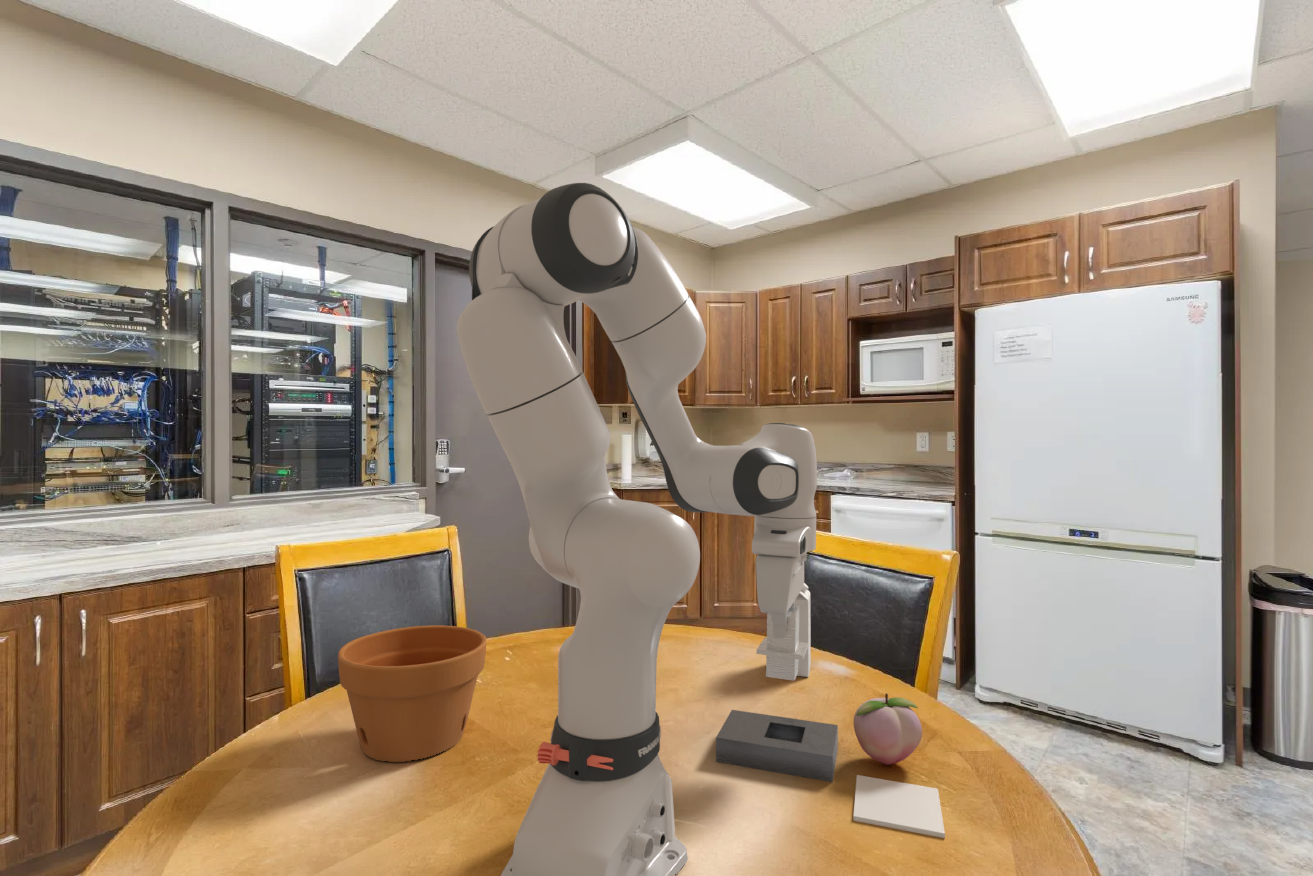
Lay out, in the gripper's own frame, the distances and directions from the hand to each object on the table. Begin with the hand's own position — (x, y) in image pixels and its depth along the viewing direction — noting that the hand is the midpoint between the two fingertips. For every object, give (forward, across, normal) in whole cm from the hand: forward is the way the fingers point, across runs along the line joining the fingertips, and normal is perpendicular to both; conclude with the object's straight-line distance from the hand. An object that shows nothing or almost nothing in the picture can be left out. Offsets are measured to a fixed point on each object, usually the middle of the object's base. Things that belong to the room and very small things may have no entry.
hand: (782, 632), depth 91 cm
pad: (+18, +7, +16) cm, 25 cm away
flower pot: (+20, +13, -53) cm, 58 cm away
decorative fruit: (+18, -4, +14) cm, 23 cm away
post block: (+18, -1, 0) cm, 18 cm away
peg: (+6, 0, 0) cm, 6 cm away
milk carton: (+17, -37, -4) cm, 41 cm away
